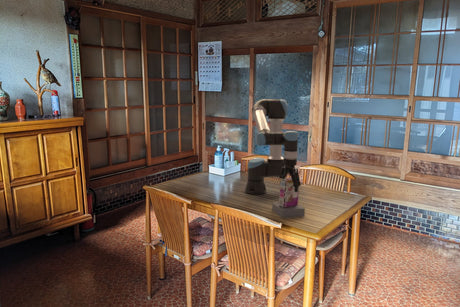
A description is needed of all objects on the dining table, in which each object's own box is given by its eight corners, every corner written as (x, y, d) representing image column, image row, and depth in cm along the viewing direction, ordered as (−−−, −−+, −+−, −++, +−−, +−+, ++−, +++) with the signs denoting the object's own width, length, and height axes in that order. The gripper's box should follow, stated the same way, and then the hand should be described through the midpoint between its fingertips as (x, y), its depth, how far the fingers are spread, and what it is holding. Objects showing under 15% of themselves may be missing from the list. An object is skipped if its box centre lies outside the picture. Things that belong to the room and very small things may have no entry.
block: (272, 210, 211) (272, 203, 210) (293, 208, 215) (293, 200, 214) (282, 219, 198) (282, 210, 197) (304, 216, 202) (304, 208, 201)
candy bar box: (284, 208, 200) (285, 181, 197) (278, 205, 205) (279, 178, 201) (298, 205, 207) (300, 178, 203) (292, 202, 211) (293, 176, 207)
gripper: (274, 154, 210) (273, 188, 214) (296, 162, 188) (294, 200, 192) (285, 153, 213) (283, 187, 217) (308, 161, 190) (306, 199, 194)
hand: (288, 193), depth 204 cm, fingers open, 13 cm apart
